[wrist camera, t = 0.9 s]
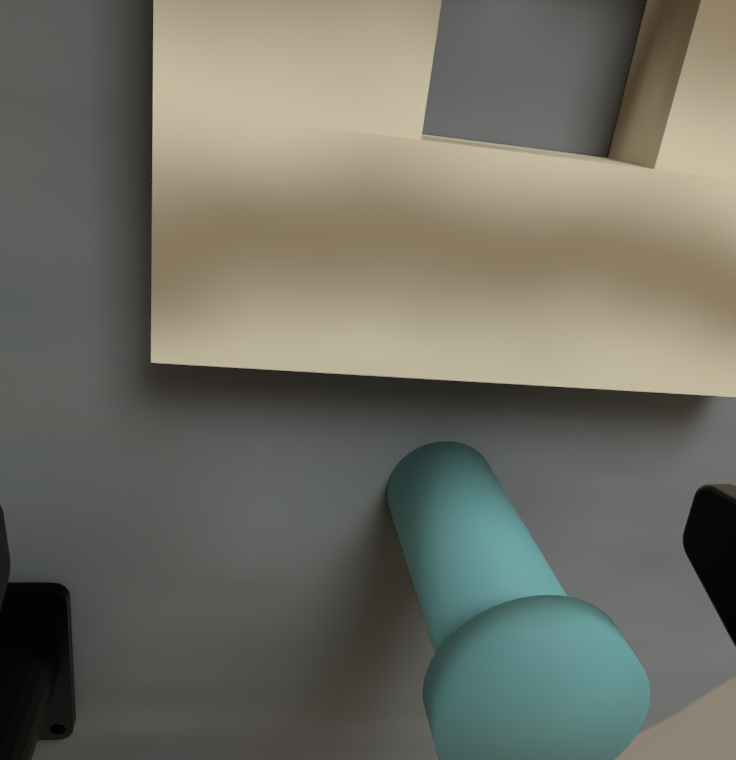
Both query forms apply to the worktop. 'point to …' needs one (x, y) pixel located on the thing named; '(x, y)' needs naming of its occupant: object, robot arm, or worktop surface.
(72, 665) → the robot arm
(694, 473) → the worktop surface
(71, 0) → the worktop surface
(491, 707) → the peg
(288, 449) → the worktop surface
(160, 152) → the keyhole board
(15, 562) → the worktop surface
